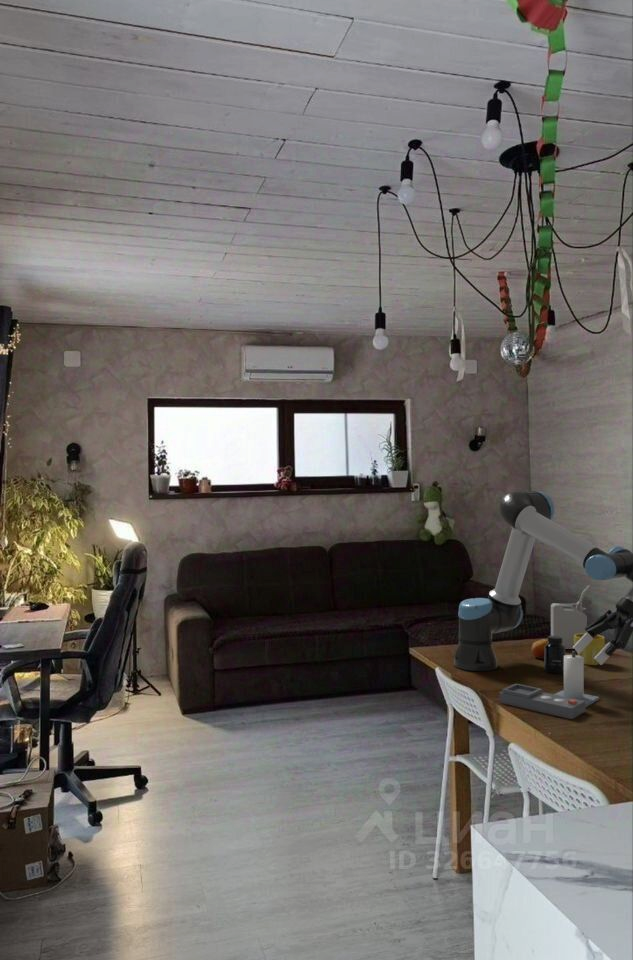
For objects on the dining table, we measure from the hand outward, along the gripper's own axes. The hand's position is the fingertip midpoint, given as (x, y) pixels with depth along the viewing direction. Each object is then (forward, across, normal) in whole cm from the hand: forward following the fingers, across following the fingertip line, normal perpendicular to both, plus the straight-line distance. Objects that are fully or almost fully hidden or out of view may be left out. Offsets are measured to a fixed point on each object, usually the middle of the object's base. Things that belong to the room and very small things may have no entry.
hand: (586, 656), depth 211 cm
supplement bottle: (+6, +32, -13) cm, 35 cm away
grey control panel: (+21, -5, +2) cm, 21 cm away
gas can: (-9, +64, -28) cm, 71 cm away
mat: (+12, 0, -7) cm, 14 cm away
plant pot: (-6, +42, -25) cm, 49 cm away
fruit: (+4, +51, -16) cm, 54 cm away
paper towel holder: (+11, 0, -6) cm, 13 cm away
